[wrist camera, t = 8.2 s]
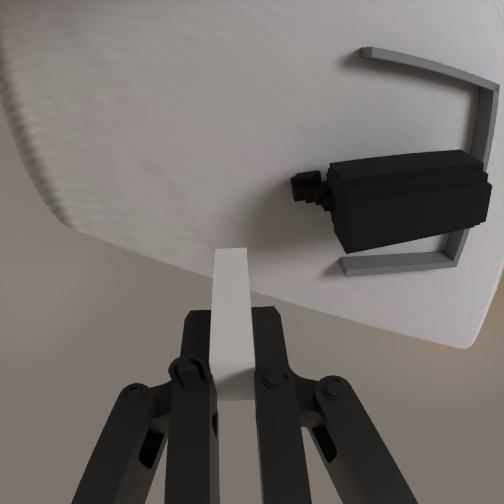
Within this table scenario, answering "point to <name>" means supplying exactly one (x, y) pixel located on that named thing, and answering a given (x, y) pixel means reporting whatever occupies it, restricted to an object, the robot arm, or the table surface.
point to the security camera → (398, 197)
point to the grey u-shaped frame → (479, 151)
